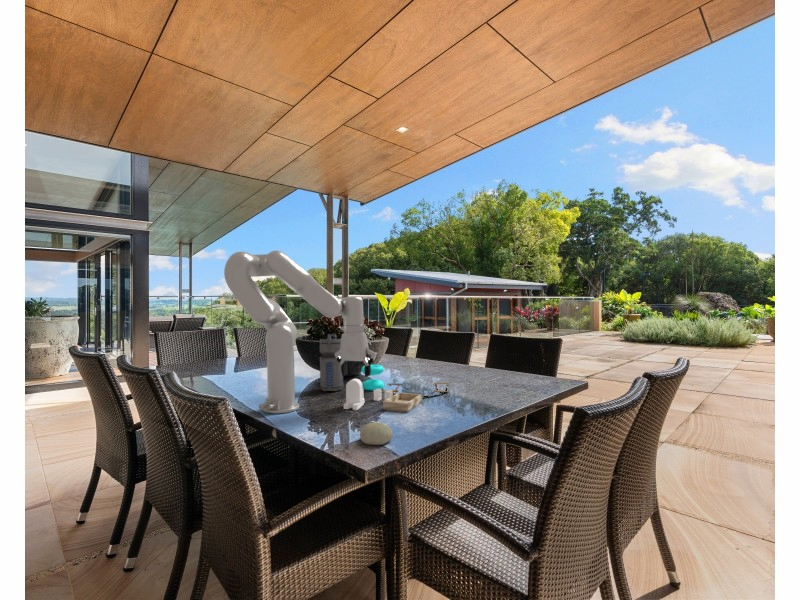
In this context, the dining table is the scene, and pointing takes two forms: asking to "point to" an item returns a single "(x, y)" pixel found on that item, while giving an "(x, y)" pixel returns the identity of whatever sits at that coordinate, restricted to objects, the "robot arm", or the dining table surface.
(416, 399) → the tan shallow tray
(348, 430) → the dining table surface
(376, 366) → the donuts
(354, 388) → the cable organizer
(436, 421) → the dining table surface
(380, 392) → the cable clips
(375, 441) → the sea urchin shell
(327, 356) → the beverage bottle
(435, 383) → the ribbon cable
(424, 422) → the dining table surface
